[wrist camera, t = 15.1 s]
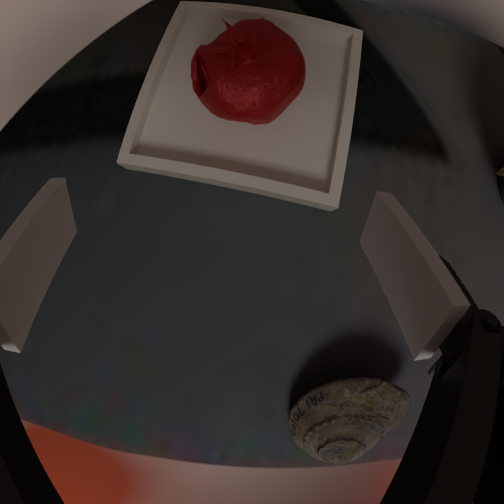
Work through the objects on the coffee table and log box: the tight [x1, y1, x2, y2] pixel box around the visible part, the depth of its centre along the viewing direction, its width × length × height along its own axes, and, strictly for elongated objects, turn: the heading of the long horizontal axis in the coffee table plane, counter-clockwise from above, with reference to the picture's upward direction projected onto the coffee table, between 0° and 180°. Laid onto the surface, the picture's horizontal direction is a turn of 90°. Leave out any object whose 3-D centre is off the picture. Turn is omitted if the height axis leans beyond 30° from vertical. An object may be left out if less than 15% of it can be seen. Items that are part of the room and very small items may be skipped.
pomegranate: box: [191, 17, 306, 125], centre depth 23 cm, size 10×10×9 cm
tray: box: [117, 1, 363, 211], centre depth 28 cm, size 20×20×2 cm
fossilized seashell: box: [288, 377, 410, 465], centre depth 27 cm, size 11×11×7 cm
